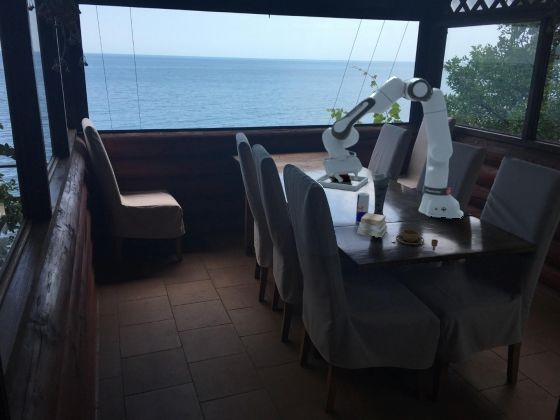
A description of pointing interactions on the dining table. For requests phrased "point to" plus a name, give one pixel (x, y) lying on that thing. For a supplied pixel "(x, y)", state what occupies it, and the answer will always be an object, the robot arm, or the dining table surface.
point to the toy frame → (343, 186)
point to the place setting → (414, 237)
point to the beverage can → (362, 206)
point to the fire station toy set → (345, 178)
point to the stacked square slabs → (372, 225)
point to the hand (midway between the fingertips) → (349, 180)
